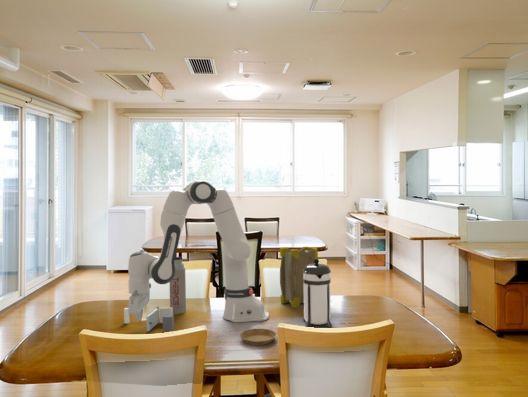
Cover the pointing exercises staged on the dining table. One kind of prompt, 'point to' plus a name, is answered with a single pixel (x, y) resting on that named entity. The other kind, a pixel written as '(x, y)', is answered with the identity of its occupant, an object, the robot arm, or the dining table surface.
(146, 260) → the robot arm
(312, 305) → the coffee press
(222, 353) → the dining table surface
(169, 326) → the block
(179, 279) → the thermos bottle
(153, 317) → the door
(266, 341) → the plant saucer
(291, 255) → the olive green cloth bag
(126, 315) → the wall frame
